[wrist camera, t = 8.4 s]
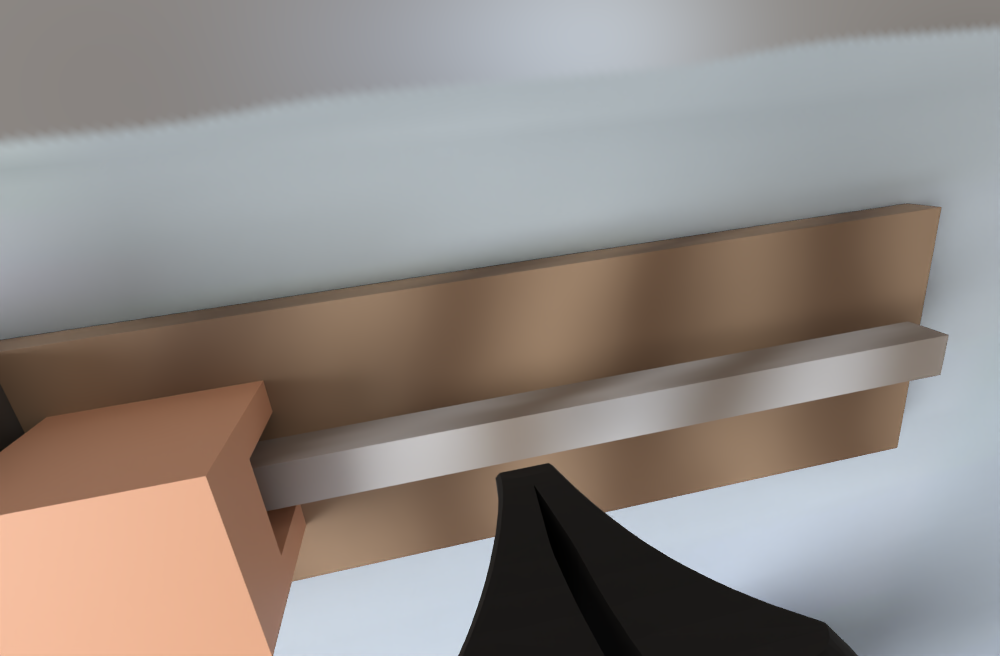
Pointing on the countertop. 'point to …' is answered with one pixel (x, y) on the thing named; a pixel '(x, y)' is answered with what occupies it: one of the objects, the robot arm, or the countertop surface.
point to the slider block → (144, 532)
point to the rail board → (536, 376)
